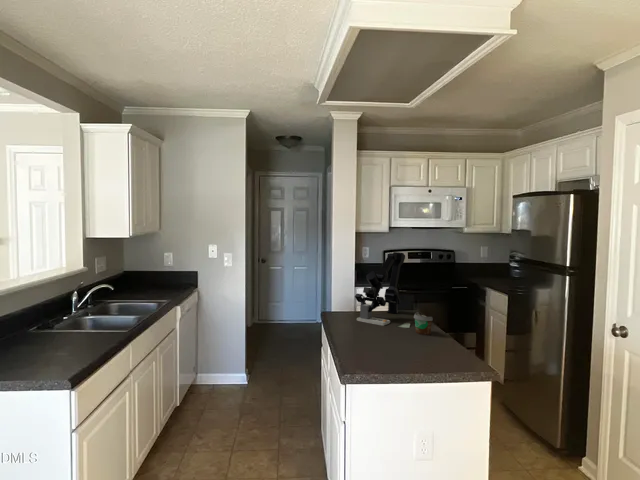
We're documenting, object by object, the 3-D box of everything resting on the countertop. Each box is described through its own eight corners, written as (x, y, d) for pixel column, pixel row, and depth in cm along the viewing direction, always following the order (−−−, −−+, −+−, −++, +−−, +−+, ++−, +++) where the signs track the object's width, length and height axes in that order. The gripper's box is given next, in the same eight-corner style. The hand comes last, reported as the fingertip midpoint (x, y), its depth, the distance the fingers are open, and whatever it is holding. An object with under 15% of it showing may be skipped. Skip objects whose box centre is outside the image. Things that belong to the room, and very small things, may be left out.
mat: (394, 323, 258) (394, 322, 258) (410, 324, 256) (410, 323, 256) (392, 326, 250) (392, 326, 250) (409, 328, 247) (409, 327, 247)
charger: (364, 318, 263) (364, 303, 262) (371, 320, 260) (372, 304, 259) (359, 320, 259) (360, 305, 258) (367, 321, 256) (367, 306, 255)
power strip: (356, 322, 259) (356, 317, 258) (363, 319, 265) (364, 314, 265) (383, 327, 248) (383, 321, 248) (389, 324, 255) (390, 319, 254)
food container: (408, 330, 242) (409, 312, 241) (417, 329, 244) (418, 311, 244) (422, 336, 231) (423, 317, 230) (432, 335, 233) (432, 316, 233)
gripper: (356, 280, 267) (346, 301, 259) (384, 283, 256) (374, 305, 248) (363, 291, 274) (353, 312, 266) (390, 295, 263) (380, 316, 254)
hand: (364, 311), depth 258 cm, fingers closed on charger, 5 cm apart
